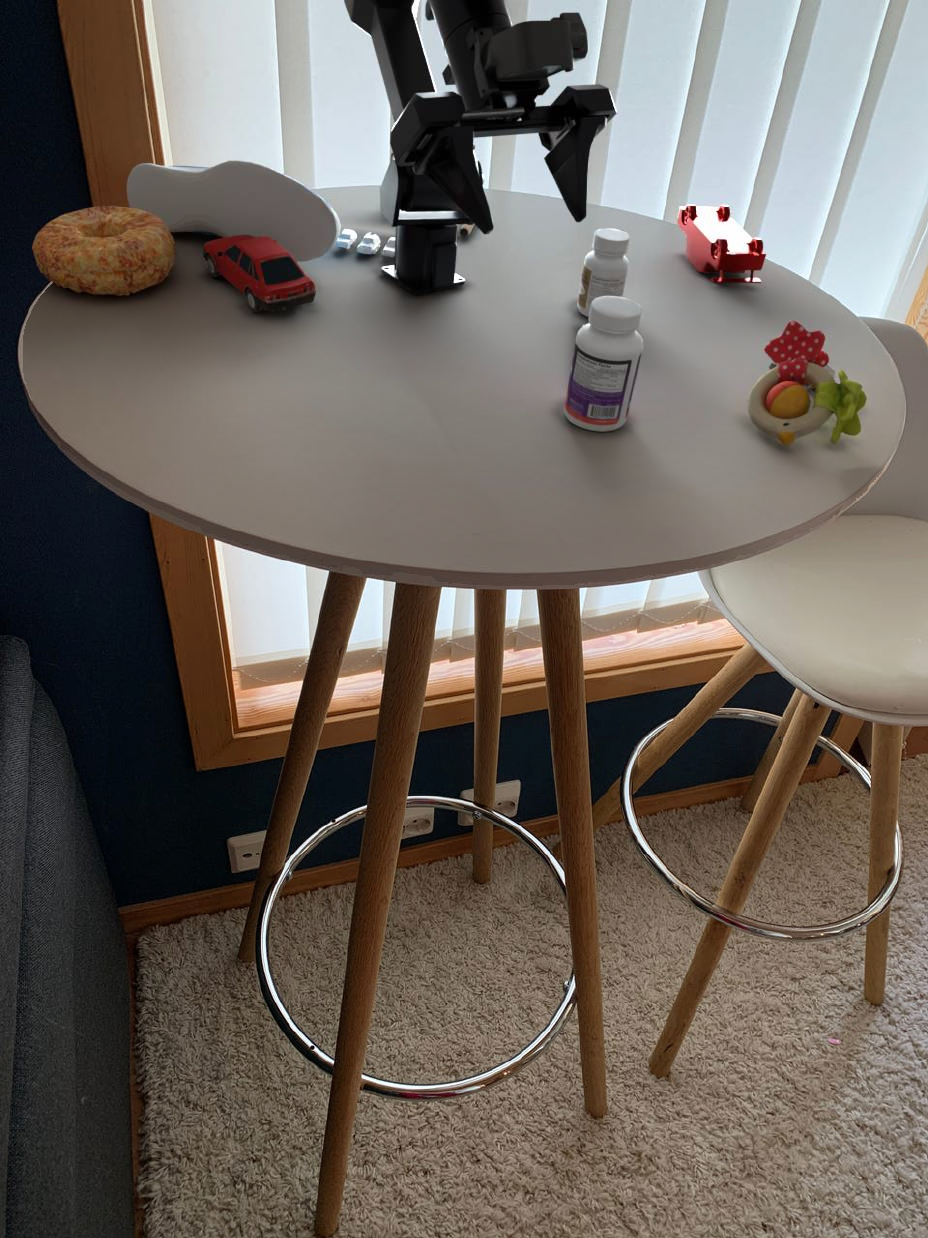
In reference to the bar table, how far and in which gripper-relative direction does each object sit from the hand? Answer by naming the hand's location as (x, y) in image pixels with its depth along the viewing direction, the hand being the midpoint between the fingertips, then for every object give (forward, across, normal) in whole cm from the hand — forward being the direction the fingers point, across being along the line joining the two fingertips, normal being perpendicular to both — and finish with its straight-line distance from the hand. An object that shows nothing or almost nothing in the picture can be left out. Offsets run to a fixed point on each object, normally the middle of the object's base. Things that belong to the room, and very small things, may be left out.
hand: (536, 225), depth 76 cm
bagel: (-17, -27, +28) cm, 42 cm away
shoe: (-18, -15, +29) cm, 37 cm away
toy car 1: (-8, -15, +25) cm, 30 cm away
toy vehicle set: (-12, 0, +30) cm, 32 cm away
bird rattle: (+20, +13, -4) cm, 24 cm away
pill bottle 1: (+4, +15, +14) cm, 21 cm away
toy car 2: (-4, +36, +14) cm, 39 cm away
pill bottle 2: (+16, +1, +2) cm, 16 cm away
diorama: (+18, +22, -3) cm, 29 cm away
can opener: (-16, +14, +33) cm, 39 cm away
